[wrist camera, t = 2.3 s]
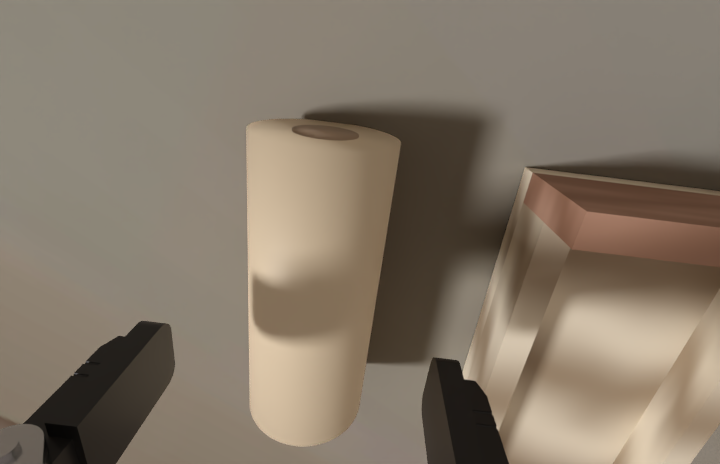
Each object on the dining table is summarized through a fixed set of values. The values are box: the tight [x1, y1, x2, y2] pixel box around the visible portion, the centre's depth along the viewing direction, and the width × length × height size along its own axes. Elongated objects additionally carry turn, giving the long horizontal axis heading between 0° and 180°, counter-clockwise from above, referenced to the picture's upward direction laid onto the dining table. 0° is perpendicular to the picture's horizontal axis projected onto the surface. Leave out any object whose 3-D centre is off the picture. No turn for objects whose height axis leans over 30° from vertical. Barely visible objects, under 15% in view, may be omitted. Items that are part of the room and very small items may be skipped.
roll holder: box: [462, 167, 720, 464], centre depth 17 cm, size 18×10×5 cm, turn 174°
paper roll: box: [246, 119, 401, 446], centre depth 15 cm, size 12×5×5 cm, turn 174°
